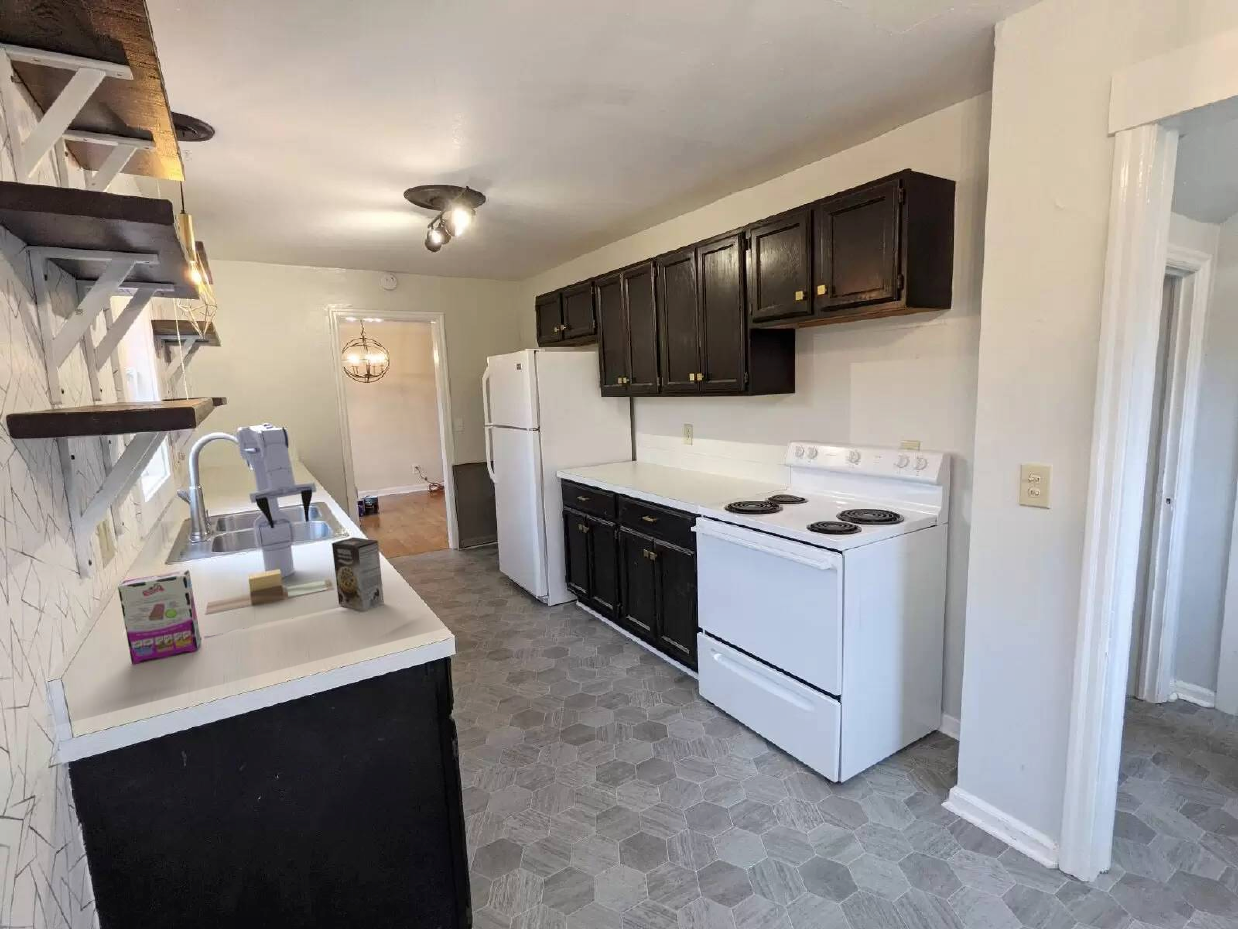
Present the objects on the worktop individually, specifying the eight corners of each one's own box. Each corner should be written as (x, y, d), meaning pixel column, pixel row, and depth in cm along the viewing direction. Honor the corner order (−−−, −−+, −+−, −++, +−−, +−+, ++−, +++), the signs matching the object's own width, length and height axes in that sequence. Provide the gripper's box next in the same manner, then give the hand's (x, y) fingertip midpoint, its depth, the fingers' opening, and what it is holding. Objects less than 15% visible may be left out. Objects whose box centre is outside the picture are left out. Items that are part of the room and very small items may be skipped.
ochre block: (251, 597, 154) (248, 574, 153) (282, 591, 157) (280, 569, 157) (251, 602, 150) (248, 579, 149) (283, 596, 154) (280, 573, 153)
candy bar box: (201, 642, 129) (190, 569, 126) (198, 651, 124) (186, 575, 122) (136, 655, 124) (123, 579, 121) (130, 665, 119) (116, 586, 117)
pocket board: (208, 605, 151) (206, 591, 151) (330, 582, 166) (328, 568, 165) (205, 618, 143) (203, 602, 142) (334, 592, 157) (332, 578, 157)
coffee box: (337, 607, 146) (330, 543, 144) (360, 598, 152) (353, 536, 149) (363, 612, 142) (356, 546, 140) (385, 603, 147) (378, 539, 145)
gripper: (245, 472, 145) (255, 526, 142) (311, 462, 152) (322, 513, 149) (247, 481, 151) (257, 533, 148) (311, 471, 158) (322, 520, 155)
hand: (290, 524), depth 149 cm, fingers open, 7 cm apart
